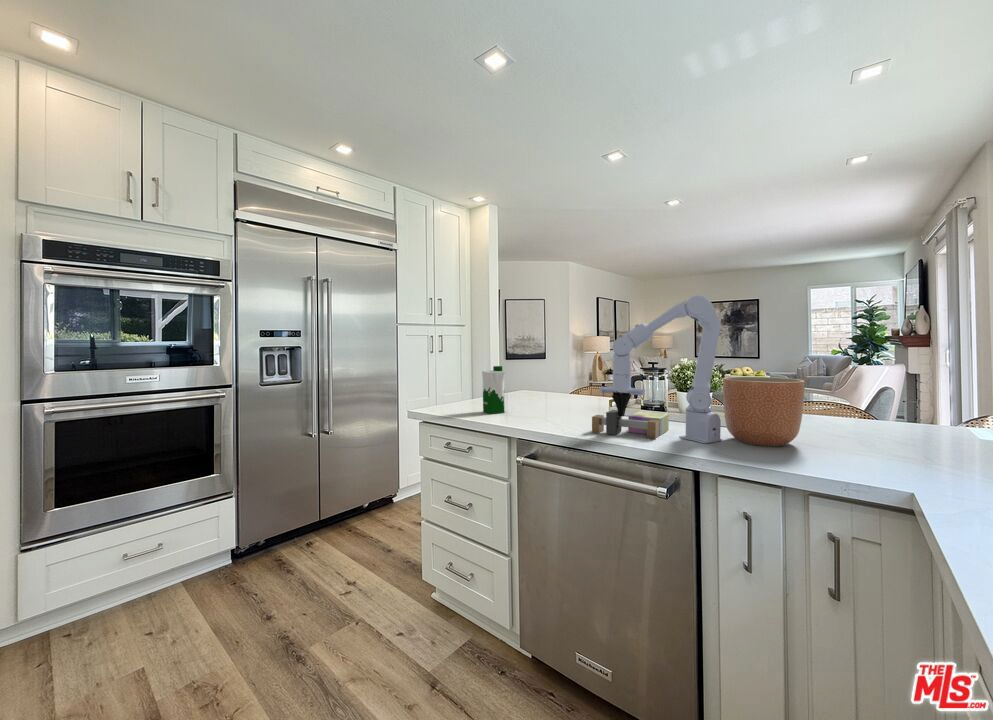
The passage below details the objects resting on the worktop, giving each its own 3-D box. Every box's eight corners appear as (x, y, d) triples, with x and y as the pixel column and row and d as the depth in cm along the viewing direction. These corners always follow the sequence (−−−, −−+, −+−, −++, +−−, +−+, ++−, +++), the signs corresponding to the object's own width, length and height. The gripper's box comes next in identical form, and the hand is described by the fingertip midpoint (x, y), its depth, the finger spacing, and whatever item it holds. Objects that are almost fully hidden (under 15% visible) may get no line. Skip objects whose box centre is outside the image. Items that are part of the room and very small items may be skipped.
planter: (706, 437, 137) (707, 377, 136) (754, 432, 144) (755, 375, 143) (768, 453, 117) (770, 383, 117) (820, 446, 125) (822, 380, 124)
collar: (621, 431, 146) (621, 410, 146) (615, 434, 140) (615, 413, 140) (612, 430, 148) (612, 409, 148) (606, 433, 142) (606, 412, 142)
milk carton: (507, 413, 187) (507, 366, 187) (488, 414, 184) (487, 367, 183) (498, 410, 195) (498, 365, 195) (480, 411, 192) (479, 366, 191)
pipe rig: (658, 436, 139) (658, 420, 139) (655, 439, 135) (655, 422, 135) (596, 430, 150) (597, 414, 150) (591, 432, 146) (592, 416, 145)
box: (638, 427, 155) (628, 432, 146) (638, 411, 155) (628, 415, 145) (668, 430, 149) (660, 436, 140) (669, 413, 149) (660, 418, 140)
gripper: (647, 374, 142) (647, 416, 142) (604, 373, 149) (603, 412, 150) (642, 376, 136) (641, 419, 136) (597, 374, 143) (597, 415, 144)
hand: (621, 416), depth 143 cm, fingers closed
